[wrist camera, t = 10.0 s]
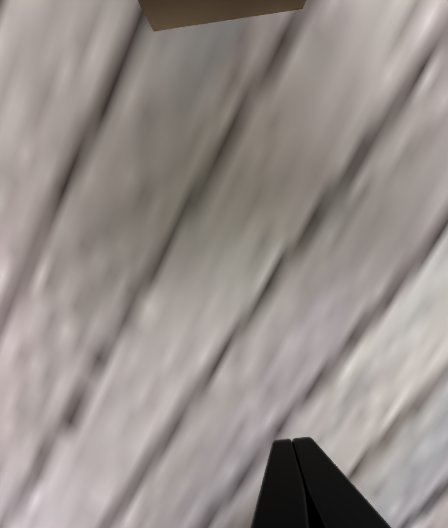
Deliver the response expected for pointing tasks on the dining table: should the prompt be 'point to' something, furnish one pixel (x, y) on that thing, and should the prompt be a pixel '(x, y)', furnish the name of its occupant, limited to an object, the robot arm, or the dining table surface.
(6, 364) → the dining table surface
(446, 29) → the dining table surface
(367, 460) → the dining table surface
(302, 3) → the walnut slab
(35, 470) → the dining table surface
